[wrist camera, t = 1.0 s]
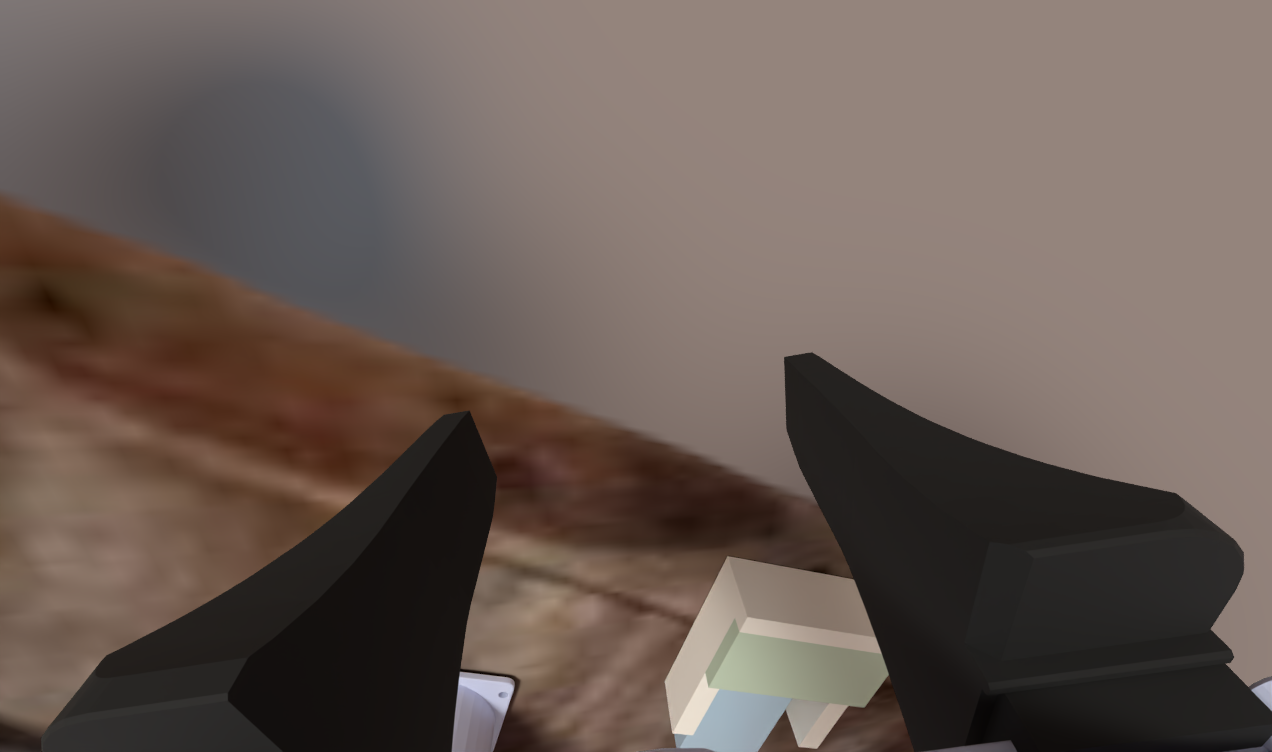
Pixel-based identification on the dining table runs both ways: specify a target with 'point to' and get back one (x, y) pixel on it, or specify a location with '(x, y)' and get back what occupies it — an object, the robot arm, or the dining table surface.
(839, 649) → the dock
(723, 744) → the tile
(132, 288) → the dining table surface
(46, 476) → the dining table surface
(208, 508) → the dining table surface
